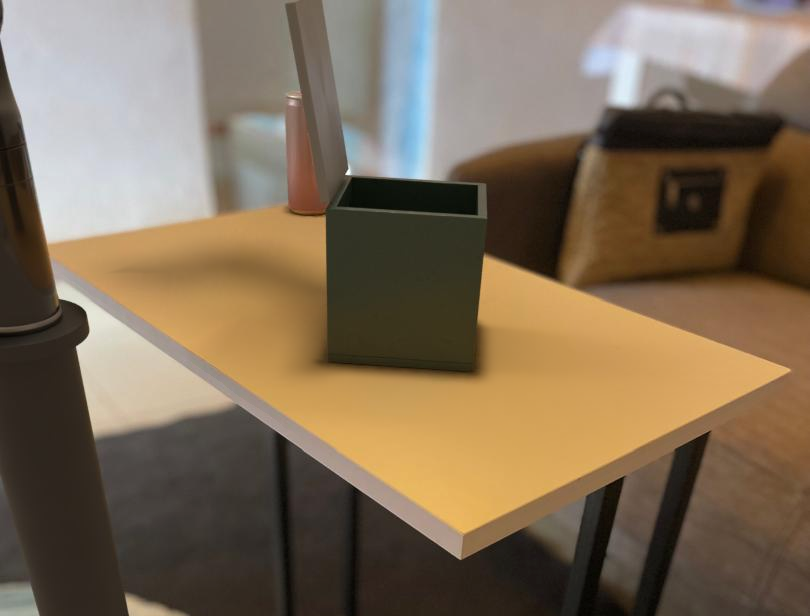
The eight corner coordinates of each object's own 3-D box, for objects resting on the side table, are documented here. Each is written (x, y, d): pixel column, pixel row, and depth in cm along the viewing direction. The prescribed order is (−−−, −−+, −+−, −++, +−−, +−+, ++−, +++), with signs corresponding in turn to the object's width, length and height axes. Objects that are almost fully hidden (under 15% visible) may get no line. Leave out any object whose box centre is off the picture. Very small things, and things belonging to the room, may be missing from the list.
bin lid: (321, -7, 72) (312, -5, 72) (295, 1, 62) (284, 3, 62) (348, 169, 80) (340, 170, 80) (329, 202, 70) (320, 203, 70)
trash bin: (473, 322, 88) (486, 183, 80) (472, 372, 78) (487, 218, 70) (344, 313, 88) (344, 174, 80) (327, 362, 78) (325, 208, 70)
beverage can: (316, 203, 124) (313, 89, 116) (337, 212, 121) (337, 96, 112) (280, 207, 122) (275, 91, 113) (301, 217, 118) (298, 98, 109)
